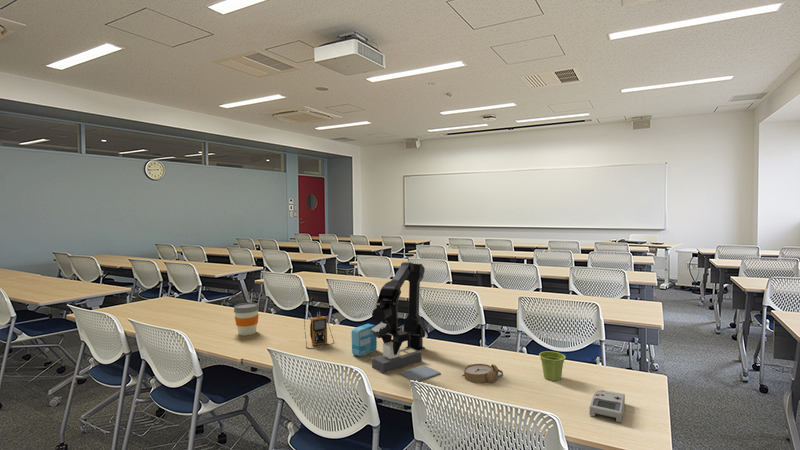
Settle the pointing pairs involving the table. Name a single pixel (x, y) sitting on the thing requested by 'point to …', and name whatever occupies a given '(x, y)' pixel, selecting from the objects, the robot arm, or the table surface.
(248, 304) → the reusable coffee cup
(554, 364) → the plant pot
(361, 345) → the data package
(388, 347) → the plug
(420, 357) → the block
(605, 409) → the handheld gaming device
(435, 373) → the mat
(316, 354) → the table surface
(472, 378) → the alarm clock
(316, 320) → the multimeter
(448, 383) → the table surface
